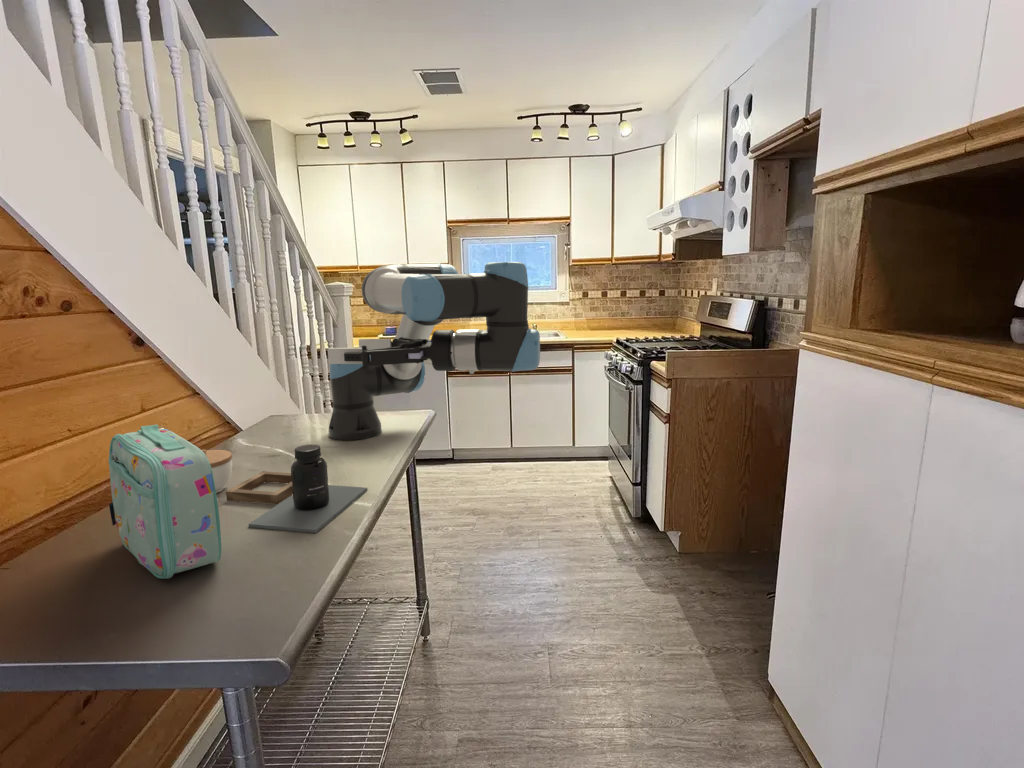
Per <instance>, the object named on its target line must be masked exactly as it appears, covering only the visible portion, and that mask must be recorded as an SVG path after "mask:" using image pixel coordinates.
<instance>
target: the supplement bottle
mask: <svg viewBox="0 0 1024 768" xmlns="http://www.w3.org/2000/svg"><path fill="white" fill-rule="evenodd" d="M294 459H295V460H294V461H293V462H292V463H291V465H290V473H291V479H292V491H293V501H294V506H295V508H297V509H298V510H304V511H309V510H316V509H319V508H322V507H324V506H326V505H327V504H328V502H329V486H328V485H329V477H328V476H329V475H328V462H327V461H326V460H325V459H324V458H323V457H322V452H321V446H320V445H319V444H303V445H300V446H297V447H295V448H294Z"/></svg>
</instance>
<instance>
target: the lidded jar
mask: <svg viewBox="0 0 1024 768" xmlns="http://www.w3.org/2000/svg"><path fill="white" fill-rule="evenodd" d="M201 450H202V451H203V452H204V453H205V455H206V456H207V458H208V460H209V463H210V465H211V469H212V473H213V478H214V483H215V489H216V494H218V493H220V492H222V491H223V490H225V487H226V486H227V485H228V484H229V482H230V480H231V478H232V475H233V473H232V472H233V454H232V452H231V451H229V450H226V449H207V450H206V449H201ZM221 490H222V491H221Z"/></svg>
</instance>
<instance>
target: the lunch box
mask: <svg viewBox="0 0 1024 768" xmlns="http://www.w3.org/2000/svg"><path fill="white" fill-rule="evenodd" d="M139 428H140V429H139V430H137V431H132V432H126V433H124V434H122V433H116V434H115V435H114V436H113V437H111V440H110V443H109V452H108V453H109V454H108V465H109V467H108V468H109V479H110V480H109V481H110V489H111V490H110V491H111V498H112V499H111V500H112V502H110V503H109V504H108V506H109V507H108V508H109V513H110V518H111V524H112V526H115V525H116V528H117V531H118V533H119V536H120V539H121V542H122V544H123V546H124V547H125V549H127V550H128V551H129V552H130V553H131V554H132V555H133V556H134V557H135V558H136V560H137V561H138V564H140V565H142V566H143V567H144V568H145V569H147V570H148V571H149V572H150V573H151V574H152V575H153V576H154V577H156V578H157V579H165V580H166V579H168V580H169V579H170V578H172V577H173V576H174V574H179V573H183V572H186V571H190V570H193V569H196V568H200V567H203V566H206V565H209V564H214V563H217V562H219V561H220V559H221V557H222V537H221V536H222V534H221V520H220V512H219V511H220V510H219V503H218V497H217V493H216V489H215V483H214V478H213V473H212V469H211V465H210V463H209V460H208V458H207V456H206V455H205V453H204V452H203V451H202V450H203V449H201V448H200V447H198V446H196V445H194V444H193V443H191V442H190V441H188V440H187V439H185V438H183V437H182V436H180V435H179V434H176V433H175V432H173V431H171V430H169V429H167V428H159V425H158V424H151V425H141V426H140V427H139Z"/></svg>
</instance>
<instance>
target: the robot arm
mask: <svg viewBox="0 0 1024 768" xmlns="http://www.w3.org/2000/svg"><path fill="white" fill-rule="evenodd" d="M361 295H362V297H363V300H364V303H365V304H366V305H367V306H368V307H369V308H370V309H372V310H373V311H375V312H378V313H382V314H386V315H387V314H389V315H402V316H401V320H400V323H399V325H398V328H397V331H396V334H395V337H394V338H393V339H392V338H359V339H358V347H329V348H327V359H328V364H329V379H330V389H331V399H332V400H331V401H332V412H331V417H330V420H329V424H328V436H329V438H331V439H333V440H339V441H355V440H361V439H362V440H363V439H368V438H371V437H374V436H377V435H379V434H380V433H381V432H382V430H383V429H382V423H381V420H380V418H379V415H378V413H377V410H376V408H375V404H374V397H380V396H386V395H387V396H388V395H395V394H396V395H397V394H404V393H405V394H409V393H412V392H416V391H419V390H420V389H421V388H422V386H423V385H424V382H425V380H426V379H425V376H426V368H425V363H424V361H428V360H430V361H431V365H432V368H433V369H434V370H435V371H436V372H437V371H438V372H439V371H440V372H443V371H444V372H446V371H447V372H450V371H451V372H454V370H457V371H468V372H469V375H470V374H471V375H473V374H475V371H476V372H477V371H481V372H482V371H483V372H485V371H486V372H487V371H489V372H512V373H513V372H514V373H515V372H520V371H521V372H522V371H523V372H524V371H535V370H536V369H537V368H538V367H539V365H540V359H541V336H540V332H539V330H538V329H532V328H530V327H529V326H530V325H529V320H528V313H529V311H528V308H529V307H528V305H529V300H528V299H529V298H528V297H529V280H528V271H527V267H526V264H525V263H523V262H521V261H496V262H493V261H492V262H490V261H489V262H487V263H485V265H484V271H483V272H474V273H471V272H470V273H464V274H463V273H460V274H459V272H458V269H456V267H455V266H454V265H452V264H449V263H440V262H438V263H403V264H402V263H395V264H394V263H391V264H386V265H382V266H379V267H377V268H374V269H373V270H371V271H370V272H368V273H367V275H366V276H365V278H364V279H363V280H362V284H361ZM475 318H485V321H486V323H485V324H486V329H478V328H477V329H458V330H456V331H455V330H453V329H437V330H435V331H434V332H433V330H434V328H435V326H437V325H439V324H440V323H442V322H443V321H444V320H455V319H459V320H460V319H475Z"/></svg>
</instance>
